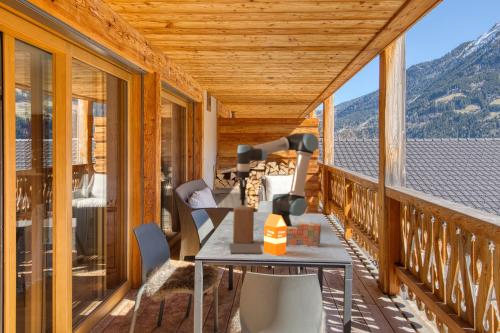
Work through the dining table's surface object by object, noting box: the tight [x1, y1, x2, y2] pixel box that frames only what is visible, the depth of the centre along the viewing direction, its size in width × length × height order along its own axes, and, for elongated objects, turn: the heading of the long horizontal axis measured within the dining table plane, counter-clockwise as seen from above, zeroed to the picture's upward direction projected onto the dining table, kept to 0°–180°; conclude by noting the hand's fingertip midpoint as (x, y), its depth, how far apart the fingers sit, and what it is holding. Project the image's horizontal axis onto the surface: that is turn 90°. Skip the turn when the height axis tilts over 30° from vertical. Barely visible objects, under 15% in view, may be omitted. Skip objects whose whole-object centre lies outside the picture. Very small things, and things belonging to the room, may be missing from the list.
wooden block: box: [232, 205, 255, 244], centre depth 249 cm, size 10×10×20 cm
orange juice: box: [263, 213, 287, 256], centre depth 227 cm, size 8×9×20 cm
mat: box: [229, 243, 263, 255], centre depth 234 cm, size 16×20×1 cm
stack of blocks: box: [286, 221, 322, 247], centre depth 248 cm, size 21×6×12 cm, turn 72°
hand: (242, 210), depth 261 cm, fingers closed
